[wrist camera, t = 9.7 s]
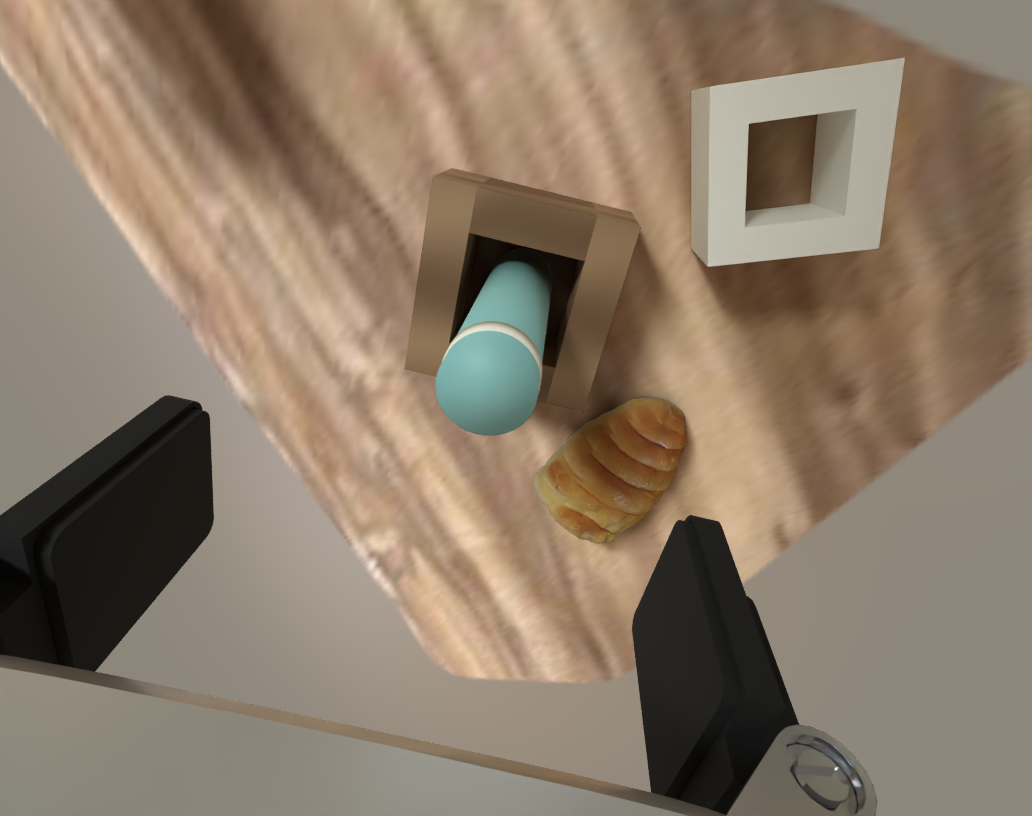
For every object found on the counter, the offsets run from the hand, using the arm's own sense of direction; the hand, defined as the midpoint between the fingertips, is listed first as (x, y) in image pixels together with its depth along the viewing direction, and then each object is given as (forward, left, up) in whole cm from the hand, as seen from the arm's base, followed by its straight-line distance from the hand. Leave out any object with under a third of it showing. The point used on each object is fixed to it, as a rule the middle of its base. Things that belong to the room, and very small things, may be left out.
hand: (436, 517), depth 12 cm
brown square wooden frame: (0, 0, -21) cm, 21 cm away
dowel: (0, 0, -21) cm, 21 cm away
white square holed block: (-8, +10, -21) cm, 25 cm away
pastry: (+10, +8, -22) cm, 25 cm away
